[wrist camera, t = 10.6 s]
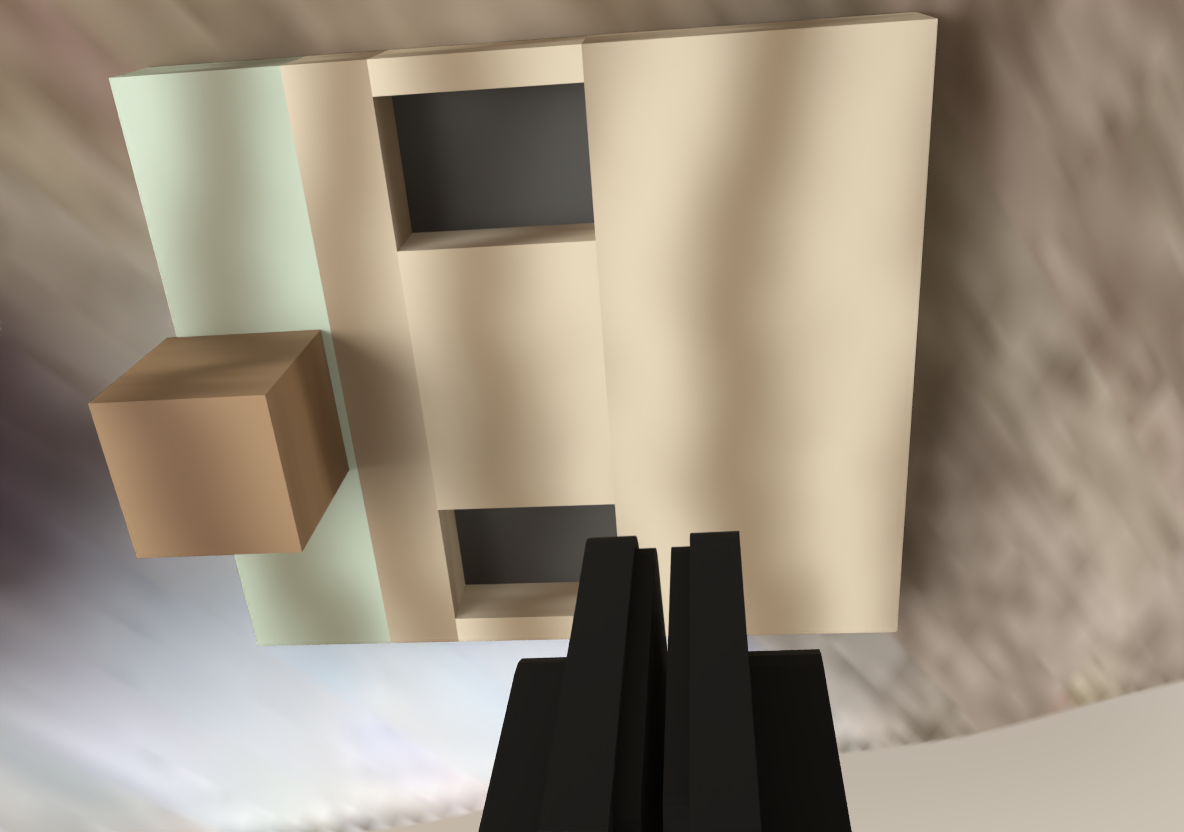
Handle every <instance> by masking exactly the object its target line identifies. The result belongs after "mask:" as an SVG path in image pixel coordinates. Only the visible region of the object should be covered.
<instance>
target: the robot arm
mask: <svg viewBox="0 0 1184 832" xmlns="http://www.w3.org/2000/svg"><path fill="white" fill-rule="evenodd" d="M479 832H852V831H851V826H850V820H849V814H848V807H847V802H846V796H845V790H844V784H843V778H842V772H841V766H840V761H839V754H838V748H837V743H836V737H835V731H834V725H833V719H832V713H831V707H830V701H829V695H828V690H827V684H826V678H825V672H824V666H823V661H822V656H821V652H820V650H819V649H812V650H780V651H748V643H747V629H746V616H745V602H744V588H743V575H742V561H741V547H740V534H739V531H723V532H701V533H690V546H683V547H671V565H670V595H669V625H668V652H667V642H666V632H665V623H664V613H663V603H662V593H661V583H660V573H659V564H658V555H657V549H656V548H639V544H638V539H637V536H615V537H594V538H588V539H587V541H586V544H585V551H584V557H583V563H582V569H581V575H580V581H579V587H578V593H577V599H576V605H575V611H574V617H573V623H572V629H571V635H570V641H569V647H568V653H567V657H557V658H525V659H521V660H520V661H519V663H518V665H517V668H516V671H515V674H514V679H513V683H512V688H511V692H510V696H509V701H508V705H507V709H506V714H505V718H504V723H503V727H502V731H501V736H500V740H499V744H498V749H497V753H496V758H495V762H494V766H493V771H492V775H491V779H490V784H489V788H488V793H487V797H486V801H485V806H484V810H483V815H482V819H481V823H480V828H479Z"/></svg>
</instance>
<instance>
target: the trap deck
mask: <svg viewBox="0 0 1184 832" xmlns="http://www.w3.org/2000/svg"><path fill="white" fill-rule="evenodd" d="M937 24H938V19H937V18H934V17H931V16H928V15H925V14H922V13H918V12H908V13H894V14H880V15H866V16H852V17H838V18H825V19H811V20H797V21H783V22H769V23H755V24H742V25H728V26H714V27H700V28H686V29H673V30H659V31H645V32H631V33H617V34H603V35H590V36H576V37H562V38H548V39H534V40H520V41H507V42H493V43H479V44H465V45H451V46H437V47H424V48H410V49H396V50H382V51H368V52H354V53H341V54H327V55H313V56H299V57H285V58H272V59H258V60H244V61H230V62H216V63H202V64H189V65H175V66H161V67H148V68H144V69H141V70H137V71H133V72H129V73H126V74H122V75H118V76H115V77H111V78H109V81H110V84H111V88H112V92H113V96H114V100H115V103H116V107H117V111H118V115H119V119H120V122H121V126H122V130H123V134H124V138H125V141H126V145H127V149H128V153H129V157H130V161H131V164H132V168H133V172H134V176H135V180H136V183H137V187H138V191H139V195H140V199H141V202H142V206H143V210H144V214H145V218H146V222H147V225H148V229H149V233H150V237H151V241H152V244H153V248H154V252H155V256H156V260H157V263H158V267H159V271H160V275H161V279H162V283H163V286H164V290H165V294H166V298H167V302H168V305H169V309H170V313H171V317H172V321H173V324H174V328H175V332H176V336H177V337H191V336H210V335H228V334H246V333H265V332H283V331H301V330H320V329H321V333H322V338H323V343H324V348H325V353H326V358H327V363H328V368H329V373H330V378H331V382H332V387H333V392H334V397H335V402H336V407H337V412H338V417H339V422H340V427H341V432H342V436H343V441H344V446H345V451H346V456H347V461H348V466H349V471H348V473H347V475H346V477H345V478H344V480H343V482H342V484H341V485H340V487H339V489H338V491H337V492H336V494H335V496H334V498H333V499H332V501H331V503H330V505H329V506H328V508H327V510H326V512H325V513H324V515H323V517H322V518H321V520H320V522H319V524H318V525H317V527H316V529H315V531H314V532H313V534H312V536H311V538H310V539H309V541H308V543H307V545H306V546H305V548H304V550H303V552H296V553H267V554H239V555H234V557H235V561H236V565H237V568H238V572H239V576H240V580H241V584H242V587H243V591H244V595H245V599H246V603H247V606H248V610H249V614H250V618H251V622H252V625H253V629H254V633H255V637H256V641H257V645H258V646H275V645H320V644H366V643H412V642H457V641H503V640H548V639H570V635H571V629H572V623H573V617H574V611H575V605H576V599H577V593H578V587H579V581H580V575H581V569H582V563H583V557H584V551H585V544H586V541H587V539H588V538H594V537H615V536H637V539H638V544H639V548H656V549H657V555H658V564H659V573H660V583H661V593H662V603H663V613H664V623H665V632H666V637H668V625H669V595H670V565H671V547H683V546H690V533H701V532H723V531H739V534H740V547H741V561H742V575H743V588H744V602H745V616H746V629H747V635H777V634H822V633H868V632H897V624H898V609H899V594H900V579H901V564H902V549H903V534H904V519H905V504H906V489H907V474H908V459H909V444H910V429H911V414H912V399H913V384H914V369H915V354H916V339H917V324H918V309H919V294H920V279H921V264H922V249H923V234H924V219H925V204H926V189H927V174H928V159H929V144H930V129H931V114H932V99H933V84H934V69H935V54H936V39H937Z"/></svg>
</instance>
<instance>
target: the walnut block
mask: <svg viewBox="0 0 1184 832" xmlns="http://www.w3.org/2000/svg"><path fill="white" fill-rule="evenodd" d="M88 405H89V409H90V412H91V415H92V418H93V421H94V424H95V427H96V431H97V434H98V437H99V440H100V443H101V446H102V449H103V453H104V456H105V459H106V462H107V465H108V468H109V472H110V475H111V478H112V481H113V484H114V487H115V490H116V494H117V497H118V500H119V503H120V506H121V509H122V513H123V516H124V519H125V522H126V525H127V528H128V531H129V535H130V538H131V541H132V544H133V547H134V550H135V553H136V557H137V558H153V557H181V556H210V555H239V554H267V553H296V552H303V550H304V548H305V546H306V545H307V543H308V541H309V539H310V538H311V536H312V534H313V532H314V531H315V529H316V527H317V525H318V524H319V522H320V520H321V518H322V517H323V515H324V513H325V512H326V510H327V508H328V506H329V505H330V503H331V501H332V499H333V498H334V496H335V494H336V492H337V491H338V489H339V487H340V485H341V484H342V482H343V480H344V478H345V477H346V475H347V473H348V471H349V466H348V461H347V456H346V451H345V446H344V441H343V436H342V432H341V427H340V422H339V417H338V412H337V407H336V402H335V397H334V392H333V387H332V382H331V378H330V373H329V368H328V363H327V358H326V353H325V348H324V343H323V338H322V333H321V329H320V330H301V331H283V332H265V333H246V334H228V335H210V336H191V337H173V338H167V339H165V340H164V341H163V342H162V343H161V344H159V345H158V346H157V347H156V348H155V349H153V350H152V351H151V352H150V353H149V354H147V355H146V356H145V357H144V358H142V359H141V360H140V361H139V362H138V363H136V364H135V365H134V366H133V367H132V368H130V369H129V370H128V371H127V372H126V373H124V374H123V375H122V376H121V377H120V378H118V379H117V380H116V381H115V382H113V383H112V384H111V385H110V386H109V387H107V388H106V389H105V390H104V391H103V392H101V393H100V394H99V395H98V396H97V397H95V398H94V399H93V400H92V401H91V402H89V403H88Z"/></svg>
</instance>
